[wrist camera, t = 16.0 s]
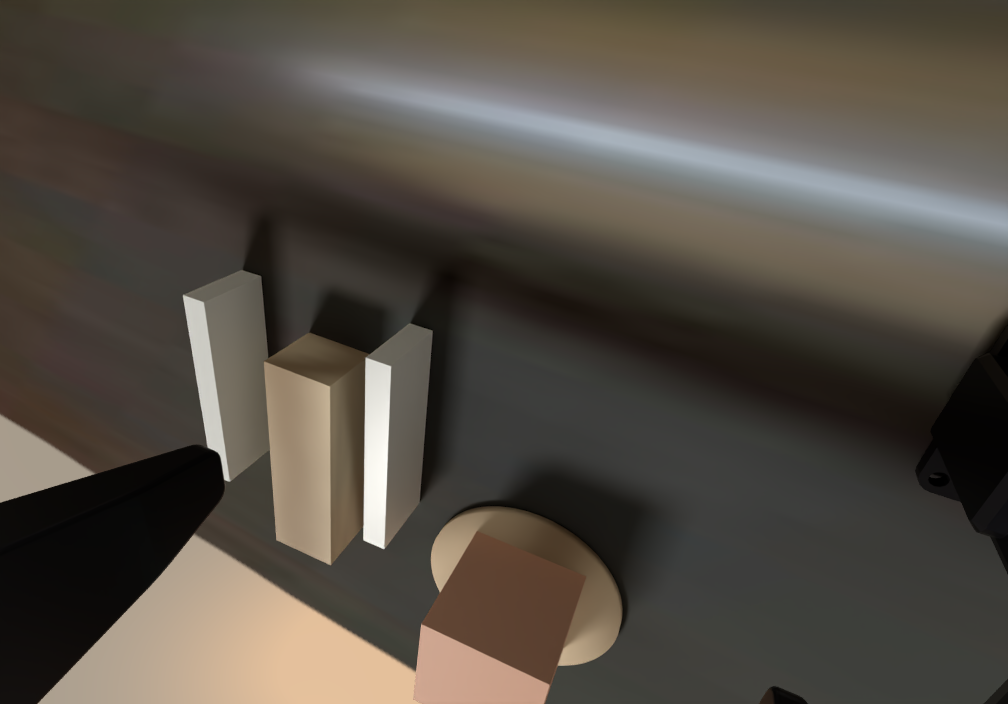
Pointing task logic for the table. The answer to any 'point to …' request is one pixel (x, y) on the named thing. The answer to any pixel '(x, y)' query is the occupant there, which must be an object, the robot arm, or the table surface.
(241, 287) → the channel
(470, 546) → the block
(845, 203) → the table surface
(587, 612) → the coaster
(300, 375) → the bar
